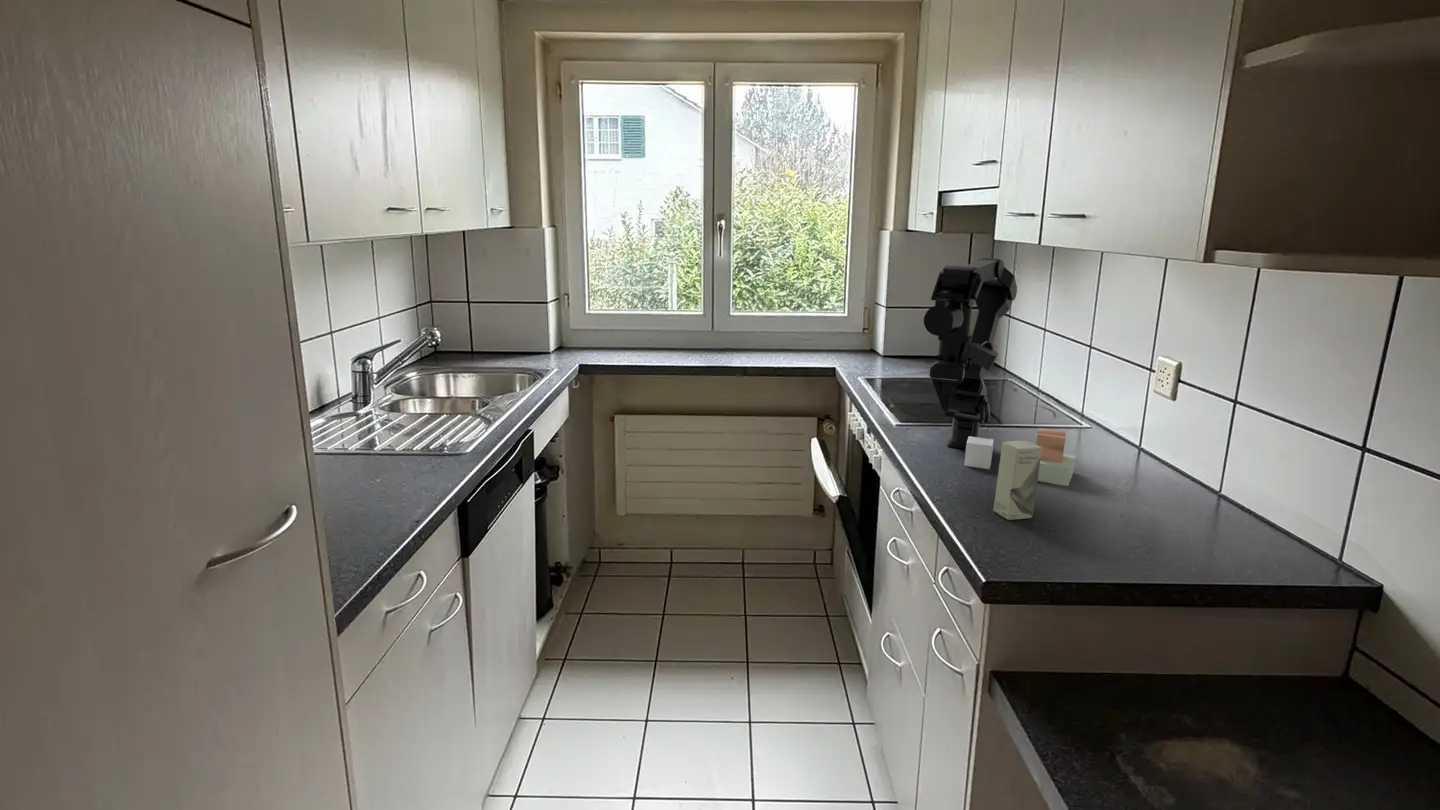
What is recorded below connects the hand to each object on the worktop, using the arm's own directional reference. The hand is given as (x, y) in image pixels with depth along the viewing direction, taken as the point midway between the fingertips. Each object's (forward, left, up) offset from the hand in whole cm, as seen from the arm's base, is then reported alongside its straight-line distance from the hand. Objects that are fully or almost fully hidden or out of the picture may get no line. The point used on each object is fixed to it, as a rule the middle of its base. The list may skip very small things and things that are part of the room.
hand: (947, 404), depth 159 cm
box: (+25, +15, -12) cm, 32 cm away
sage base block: (0, +20, -12) cm, 24 cm away
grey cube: (-1, +7, -12) cm, 14 cm away
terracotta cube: (0, +20, -8) cm, 22 cm away
